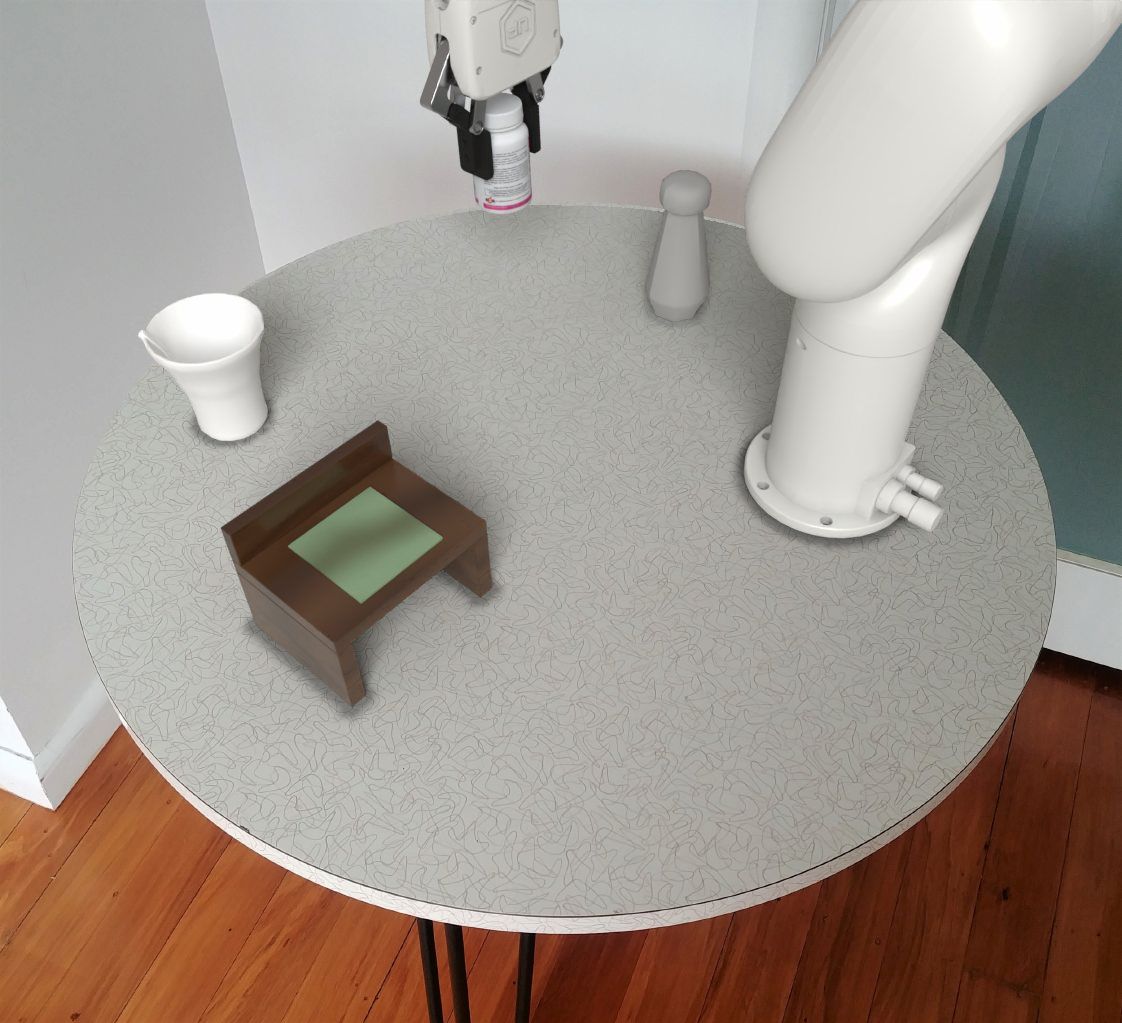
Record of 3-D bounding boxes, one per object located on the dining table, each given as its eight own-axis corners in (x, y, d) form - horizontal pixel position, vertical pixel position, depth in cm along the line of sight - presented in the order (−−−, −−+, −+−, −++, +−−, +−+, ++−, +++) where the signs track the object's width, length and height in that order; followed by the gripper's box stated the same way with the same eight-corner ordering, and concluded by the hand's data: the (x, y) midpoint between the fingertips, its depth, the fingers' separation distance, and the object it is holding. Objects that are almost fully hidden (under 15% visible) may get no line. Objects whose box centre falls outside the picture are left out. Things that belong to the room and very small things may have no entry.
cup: (180, 392, 89) (145, 293, 82) (292, 383, 90) (267, 284, 82) (166, 466, 83) (127, 366, 76) (286, 455, 84) (259, 356, 76)
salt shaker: (647, 286, 99) (655, 157, 89) (709, 292, 98) (724, 163, 89) (640, 324, 95) (647, 193, 85) (704, 330, 94) (719, 199, 85)
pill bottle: (544, 200, 88) (539, 102, 82) (501, 222, 86) (493, 123, 80) (506, 181, 91) (499, 84, 85) (463, 201, 89) (453, 104, 83)
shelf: (492, 587, 75) (483, 488, 67) (352, 707, 68) (325, 612, 61) (395, 519, 79) (377, 419, 72) (255, 625, 72) (219, 527, 65)
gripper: (431, -39, 67) (459, 219, 80) (604, -108, 75) (604, 135, 88) (353, -63, 70) (392, 188, 83) (526, -127, 79) (537, 110, 92)
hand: (501, 158), depth 86 cm, fingers closed on pill bottle, 4 cm apart
